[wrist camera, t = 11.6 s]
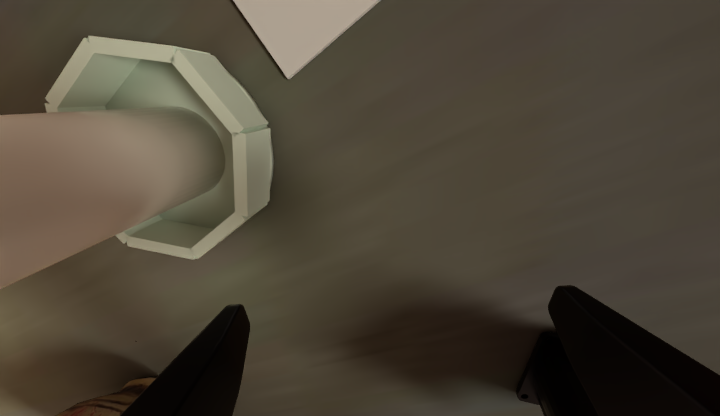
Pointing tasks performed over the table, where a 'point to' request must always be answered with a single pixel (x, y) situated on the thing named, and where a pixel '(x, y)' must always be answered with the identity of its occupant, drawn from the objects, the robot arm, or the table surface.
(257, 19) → the mat
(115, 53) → the bowl
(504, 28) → the table surface
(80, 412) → the ceramic jug
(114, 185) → the white cylinder
